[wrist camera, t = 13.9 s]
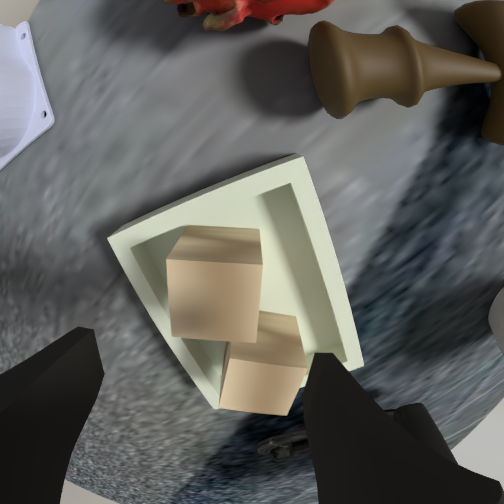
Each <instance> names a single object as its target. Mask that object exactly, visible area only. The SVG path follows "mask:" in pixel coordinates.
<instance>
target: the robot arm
mask: <svg viewBox="0 0 504 504" xmlns="http://www.w3.org/2000/svg"><path fill="white" fill-rule="evenodd" d="M25 35H26V36H25ZM24 36H25V38H24ZM45 112H46V113H47V115H46V117H44V113H45ZM53 124H54V115H53V112H52V109H51V106H50V103H49V100H48V97H47V93H46V90H45V87H44V83H43V80H42V76H41V73H40V69H39V65H38V62H37V58H36V54H35V49H34V45H33V41H32V36H31V32H30V27H29V23H28V22H25V21H23V22H21V23H20V24H19V25H18V26H17V27H16V28H13V27H9V26H6V25H2V24H0V171H1V170H2V169H3V168H4V167H5V166H6V165H7V164H8V163H9V162H10V161H11V160H13V159H14V158H15V157H16V156H17V155H18V154H19V153H20V152H22V151H23V150H24V149H25V148H26V147H27V146H29V145H30V144H31V143H32V142H33V141H35V140H36V139H37V138H38V137H40V136H41V135H42V134H43V133H45V132H46V131H47V130H48V129H50V128H51V127H52V126H53ZM103 377H104V370H103V366H102V363H101V359H100V355H99V351H98V346H97V342H96V338H95V333H94V330H93V329H88V328H83V327H77V328H75V329H73V330H72V331H70V332H68V333H67V334H65V335H64V336H62V337H61V338H59V339H58V340H56V341H54V342H53V343H51V344H50V345H48V346H47V347H45V348H44V349H42V350H41V351H39V352H38V353H36V354H35V355H33V356H31V357H30V358H28V359H26V360H25V361H23V362H21V363H20V364H18V365H16V366H15V367H13V368H11V369H10V370H8V371H6V372H4V373H2V374H0V504H60V498H61V493H62V488H63V484H64V479H65V475H66V471H67V468H68V464H69V461H70V457H71V454H72V451H73V449H74V446H75V444H76V442H77V439H78V437H79V435H80V433H81V431H82V429H83V426H84V424H85V422H86V420H87V418H88V416H89V414H90V412H91V409H92V407H93V405H94V403H95V401H96V399H97V396H98V393H99V390H100V387H101V384H102V380H103ZM302 398H303V412H304V422H305V427H306V432H307V437H308V442H309V447H310V451H311V456H312V461H313V465H314V470H315V475H316V481H317V488H318V501H319V504H504V491H503V489H502V486H501V484H500V482H499V481H497V480H494V479H491V478H489V477H486V476H483V475H480V474H478V473H475V472H472V471H470V470H468V469H466V468H464V467H462V466H460V465H458V464H456V463H454V462H452V461H450V460H449V459H447V458H445V457H443V456H442V455H440V454H438V453H437V452H435V451H434V450H432V449H431V448H429V447H428V446H426V445H425V444H423V443H422V442H420V441H419V440H418V439H416V438H415V437H414V436H412V435H411V434H410V433H409V432H407V431H406V430H405V429H404V428H403V427H401V426H400V425H399V424H398V423H397V422H396V421H394V420H393V419H392V418H391V417H390V416H389V415H388V414H387V413H386V412H385V411H384V410H383V409H382V408H381V407H380V406H379V405H378V404H377V403H376V402H375V401H374V400H373V399H372V398H371V397H370V396H369V394H368V393H367V392H366V391H365V390H364V389H363V388H362V387H361V386H360V384H359V383H358V382H357V381H356V380H355V379H354V377H353V376H352V375H351V374H350V373H349V371H348V370H347V369H346V368H345V367H344V365H343V364H342V363H341V362H340V361H339V359H338V358H337V357H336V356H335V355H334V353H317V352H315V353H314V357H313V360H312V364H311V367H310V371H309V374H308V378H307V381H306V385H305V388H304V392H303V395H302Z"/></svg>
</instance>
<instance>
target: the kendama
mask: <svg viewBox="0 0 504 504" xmlns="http://www.w3.org/2000/svg"><path fill="white" fill-rule="evenodd" d="M454 19H455V20H456V22H457V23H458V24H459V25H460V26H461V27H462V28H463V30H464V31H465V32H466V33H467V34H468V35H469V36H470V37H471V38H472V39H473V41H474V42H475V43H476V44H477V46H478V47H479V48H480V50H481V51H482V53H483V55H484V57H485V60H481V59H478V58H474V57H471V56H467V55H463V54H460V53H456V52H453V51H449V50H446V49H442V48H438V47H435V46H431V45H428V44H425V43H422V42H419V41H417V40H415V39H414V38H413V37H412V36H411V35H410V33H409V32H408V31H407V30H405V29H404V28H402V27H400V26H398V25H396V26H392V27H388V28H386V29H385V31H384V32H382V33H381V34H373V35H372V34H358V33H351V32H346V31H343V30H341V29H340V28H338V27H336V26H335V25H333V24H331V23H330V22H327V21H321V22H318V23H317V24H315V25H314V26H313V27H312V28H311V31H310V35H309V41H308V51H309V64H310V69H311V75H312V79H313V82H314V86H315V89H316V92H317V94H318V96H319V99H320V101H321V103H322V105H323V106H324V108H325V110H326V111H327V113H328V114H330V115H331V116H333V117H334V118H336V119H342V118H344V117H345V116H347V115H348V114H349V113H351V112H352V110H353V109H354V107H355V105H356V104H357V103H358V102H361V101H364V100H368V99H373V98H390V99H392V100H394V101H395V102H396V103H397V104H399V105H402V106H405V107H412V106H414V105H416V104H418V102H419V100H420V99H421V97H422V95H423V93H424V92H426V91H429V90H432V89H436V88H441V87H446V86H453V85H460V84H470V83H488V82H490V84H491V98H490V103H489V107H488V110H487V113H486V116H485V119H484V121H483V125H482V128H481V135H482V137H483V138H485V139H486V140H488V141H490V142H493V143H496V144H500V145H504V1H498V0H481V1H474V2H470V3H467V4H464V5H462V6H461V7H459V8H458V9H456V10H455V12H454Z"/></svg>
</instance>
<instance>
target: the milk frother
mask: <svg viewBox="0 0 504 504" xmlns="http://www.w3.org/2000/svg"><path fill="white" fill-rule="evenodd" d="M386 413H387V414H388V415H389V416H390V417H391V418H392V419H393V420H394V421H396V422H397V423H398V424H399V425H400V426H401V427H403V428H404V429H405V430H406V431H407V432H409V433H410V434H411V435H412V436H414V437H415V438H416V439H418V440H419V441H420V442H422V443H423V444H425V445H426V446H428V447H429V448H431V449H432V450H434V451H435V452H437V453H438V454H440V455H442V456H443V457H445V458H447V459H449V460H450V461H452V462H454V463H456V464H458V463H457V461H456V460H455V458H454V456H453V454H452V452H451V451H450V449H449V447H448V445H447V443H446V441H445V440H444V438H443V436H442V434H441V432H440V431H439V429H438V427H437V426H436V424H435V422H434V421H433V419H432V417H431V416H430V414H429V413H428V411H427V409H426V407H425V406H424V405H423V404H422V403H414V404H408V405H404V406H401V407H399V408H397V409H396V411H389V412H386ZM307 438H308V437H307V432H306V428H305V429H300V430H296V431H292V432H288V433H284V434H280V435H276V436H273V437H270V438H267V439H265V440H262V441H261V442H259V443H258V444H257V446H256V447H257V452H258V453H259V454H262V455H266V456H273V459H274V460H275V461H278V462H279V461H284V460H290V459H292V458H293V457H294V454H299V453H304V452H308V451H310V447H309V443H307V444H304V445H300V446H296V447H292V442H296V441H300V440H305V439H307Z"/></svg>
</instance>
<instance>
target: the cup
mask: <svg viewBox="0 0 504 504" xmlns="http://www.w3.org/2000/svg"><path fill="white" fill-rule="evenodd" d="M488 321H489V325H490V327H491V329H492V332H493V334H494V337H495V339H496V342H497V344H498V346H499V348H500V350H501V351H502V353H503V355H504V287H503V288H502V289H501V290H500V292H499V293H498V294H497V296H496V297H495V299H494V301H493V303H492V305H491V308H490V311H489V316H488Z"/></svg>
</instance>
